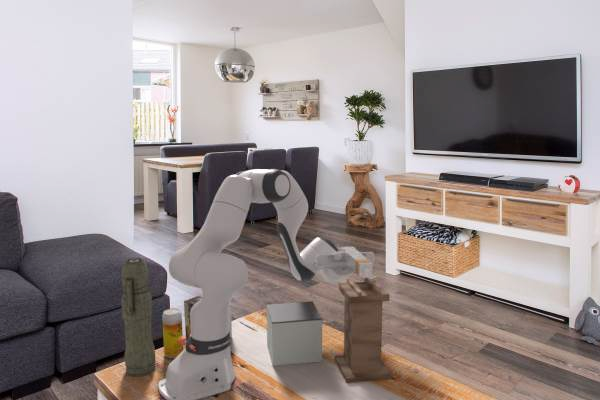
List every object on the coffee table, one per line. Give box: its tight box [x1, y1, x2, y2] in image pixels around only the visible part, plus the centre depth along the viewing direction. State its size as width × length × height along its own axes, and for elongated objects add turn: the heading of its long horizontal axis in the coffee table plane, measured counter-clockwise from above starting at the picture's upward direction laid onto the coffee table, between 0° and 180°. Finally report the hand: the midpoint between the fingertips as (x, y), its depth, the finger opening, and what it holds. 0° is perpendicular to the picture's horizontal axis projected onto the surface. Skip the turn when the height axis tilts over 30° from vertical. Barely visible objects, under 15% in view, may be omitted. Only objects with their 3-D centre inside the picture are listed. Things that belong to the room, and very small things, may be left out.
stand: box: [333, 277, 393, 384], centre depth 144 cm, size 14×14×27 cm
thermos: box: [120, 257, 156, 377], centre depth 144 cm, size 9×12×35 cm
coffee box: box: [183, 295, 202, 340], centre depth 161 cm, size 9×6×16 cm
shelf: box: [266, 300, 323, 367], centre depth 156 cm, size 15×16×14 cm
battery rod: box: [340, 246, 374, 278], centre depth 149 cm, size 21×4×4 cm, turn 11°
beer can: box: [161, 308, 184, 359], centre depth 155 cm, size 6×6×15 cm
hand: (350, 254), depth 155 cm, fingers closed on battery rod, 4 cm apart
